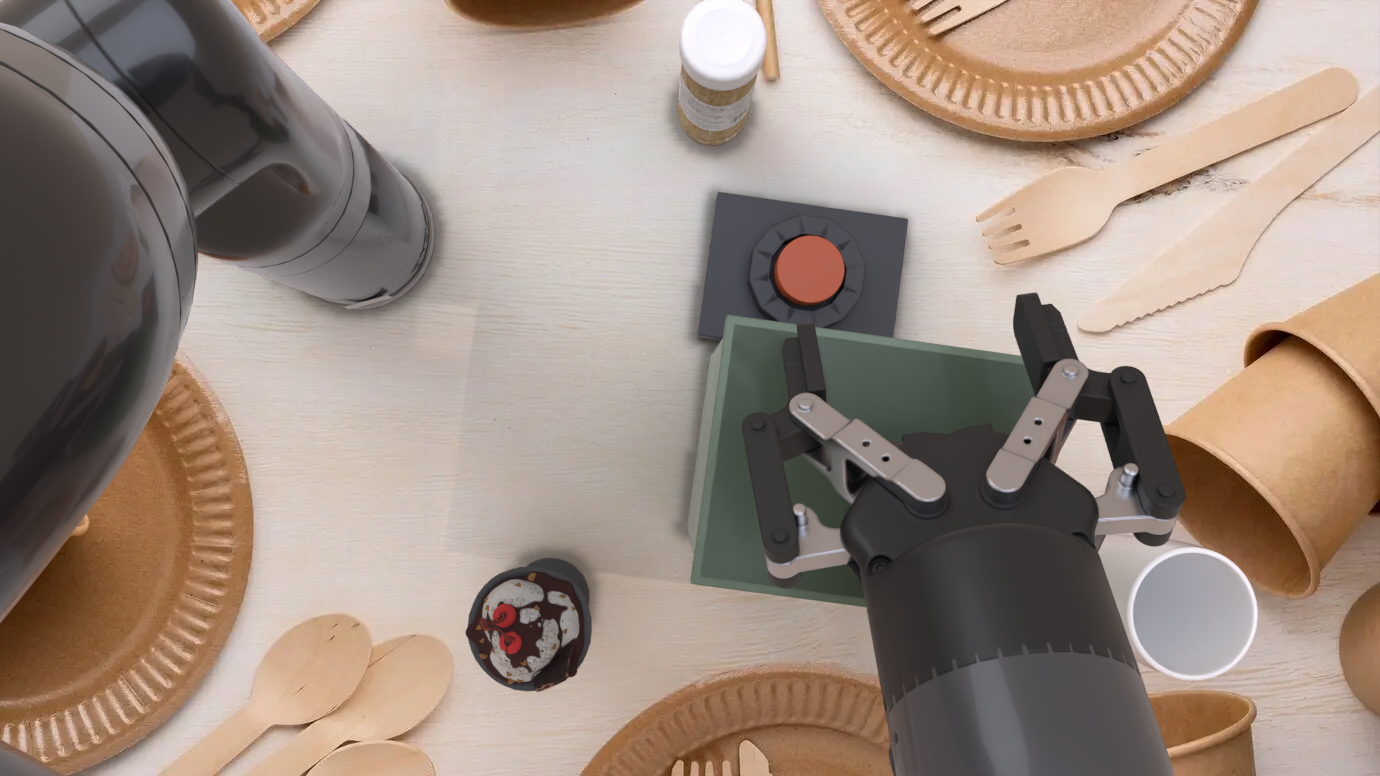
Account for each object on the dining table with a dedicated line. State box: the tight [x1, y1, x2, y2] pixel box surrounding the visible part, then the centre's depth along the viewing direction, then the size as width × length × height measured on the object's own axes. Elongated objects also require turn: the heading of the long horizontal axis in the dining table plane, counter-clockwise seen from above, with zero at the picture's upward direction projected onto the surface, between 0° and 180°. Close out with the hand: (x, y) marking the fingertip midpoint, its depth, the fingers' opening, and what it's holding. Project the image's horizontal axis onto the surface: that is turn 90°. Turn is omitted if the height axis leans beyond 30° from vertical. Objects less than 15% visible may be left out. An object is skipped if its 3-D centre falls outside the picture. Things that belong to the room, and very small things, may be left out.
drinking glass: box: [1098, 534, 1259, 682], centre depth 60 cm, size 7×7×15 cm
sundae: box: [465, 557, 593, 693], centre depth 59 cm, size 7×7×15 cm
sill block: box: [686, 315, 1035, 608], centre depth 56 cm, size 15×12×22 cm
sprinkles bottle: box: [677, 0, 768, 146], centre depth 61 cm, size 5×5×14 cm
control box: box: [696, 191, 909, 342], centre depth 65 cm, size 12×9×4 cm
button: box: [774, 236, 845, 306], centre depth 63 cm, size 4×4×2 cm
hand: (913, 322), depth 42 cm, fingers open, 8 cm apart
